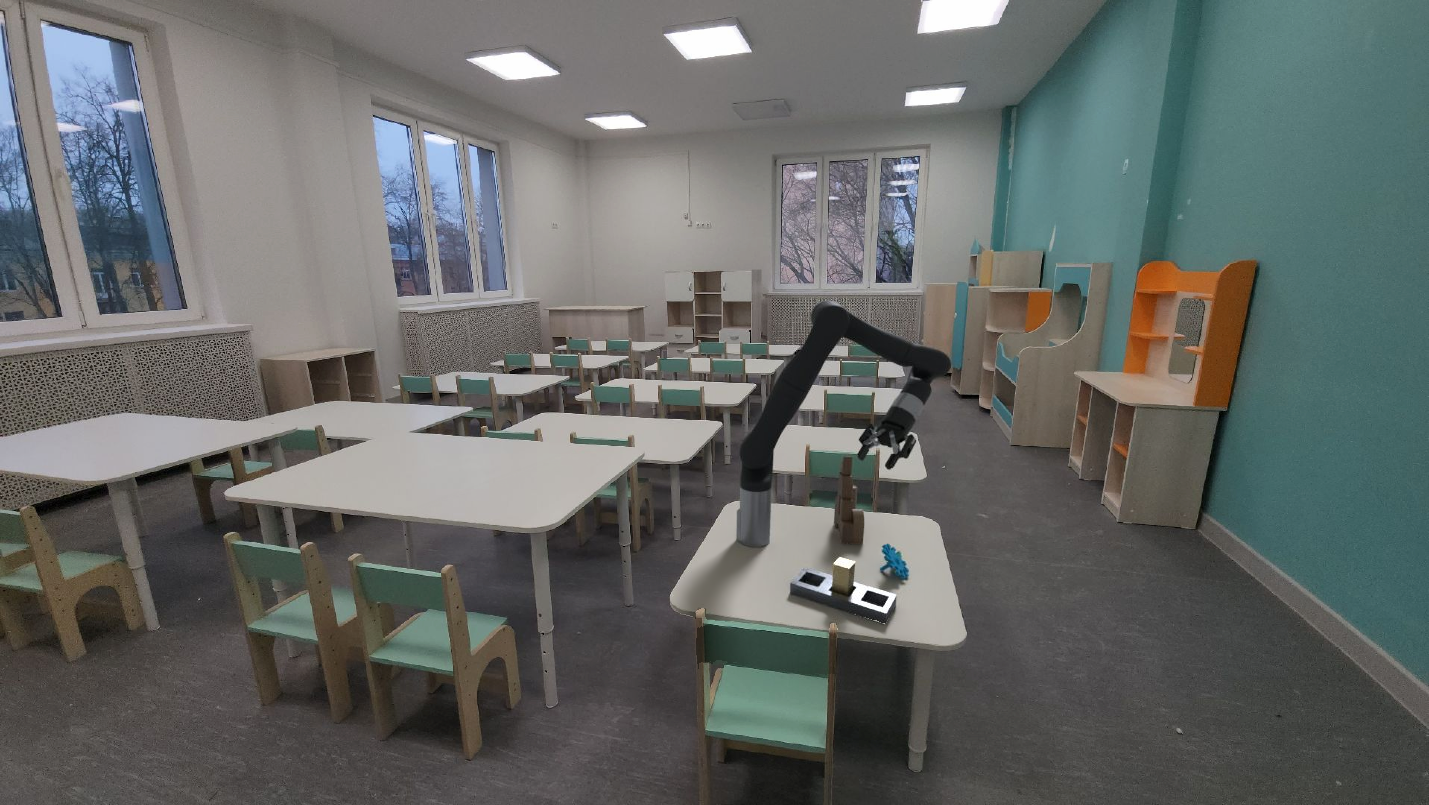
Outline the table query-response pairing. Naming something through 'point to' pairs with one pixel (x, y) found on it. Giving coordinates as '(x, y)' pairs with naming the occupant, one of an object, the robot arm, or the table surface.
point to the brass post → (843, 576)
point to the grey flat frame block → (841, 602)
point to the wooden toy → (848, 507)
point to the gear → (894, 561)
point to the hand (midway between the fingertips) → (873, 463)
